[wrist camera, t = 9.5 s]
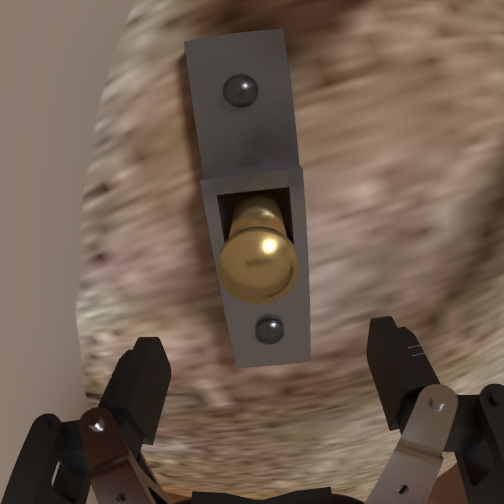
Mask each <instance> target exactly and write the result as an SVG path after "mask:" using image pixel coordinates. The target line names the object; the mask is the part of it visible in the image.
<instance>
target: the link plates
mask: <svg viewBox="0 0 504 504" xmlns="http://www.w3.org/2000/svg"><path fill="white" fill-rule="evenodd" d="M184 45H185V53H186V61H187V68H188V76H189V83H190V91H191V98H192V105H193V112H194V119H195V125H196V132H197V139H198V145H199V152H200V158H201V164H202V171H203V177H202V178H201V179H200V185H201V191H202V197H203V203H204V208H205V214H206V219H207V225H208V230H209V236H210V241H211V247H212V252H213V257H214V262H215V267H216V273H217V278H218V283H219V288H220V293H221V298H222V302H223V307H224V312H225V317H226V322H227V326H228V331H229V336H230V340H231V345H232V349H233V354H234V358H235V363H236V367H237V368H246V367H259V366H271V365H281V364H291V363H300V362H308V361H310V296H309V267H308V245H307V227H306V210H305V196H304V182H303V169H302V167H301V166H300V165H299V156H298V145H297V135H296V125H295V116H294V107H293V98H292V89H291V81H290V73H289V65H288V58H287V51H286V44H285V37H284V30H283V29H270V30H258V31H248V32H240V33H232V34H225V35H218V36H212V37H206V38H200V39H195V40H190V41H185V42H184ZM284 187H286V193H287V204H288V216H289V228H290V236H287V238H288V239H289V240H290V241H291V242H292V244H293V245H294V248H295V250H296V253H297V257H298V260H299V275H298V279H297V281H296V283H295V285H294V286H293V288H292V289H291V290H290V291H289V292H288V293H287V294H286V295H285V296H283V297H282V298H280V299H278V300H276V301H273V302H270V303H265V304H251V303H247V302H243V301H241V300H238V299H237V298H235V297H233V296H232V295H231V294H229V293H228V292H227V291H226V289H225V288H224V287H223V285H222V284H221V281H220V279H219V276H218V261H219V256H220V252H221V249H222V247H223V245H224V244H225V242H226V241H227V240H228V239H229V231H228V224H227V218H226V211H225V205H224V199H223V194H230V193H238V192H247V191H256V190H265V189H274V188H284Z"/></svg>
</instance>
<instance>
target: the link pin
mask: <svg viewBox="0 0 504 504" xmlns="http://www.w3.org/2000/svg"><path fill="white" fill-rule="evenodd" d="M298 275H299V260H298V257H297V253H296V250H295V248H294V245H293V244H292V242H291V241H290V240H289V239H288V238H287V235H286V231H285V227H284V223H283V219H282V215H281V211H280V207H279V203H278V201H277V199H276V197H275V196H274V195H273V194H272V193H271V192H269V191H267V190H256V191H247V192H244V193H242V194H241V195H240V196H239V198H238V199H237V201H236V204H235V209H234V214H233V219H232V224H231V229H230V234H229V239H228V240H227V241H226V242H225V244H224V245H223V247H222V249H221V252H220V256H219V261H218V276H219V279H220V281H221V284H222V285H223V287H224V288H225V289H226V291H227V292H228V293H229V294H231V295H232V296H233V297H235V298H237V299H238V300H241V301H243V302H247V303H251V304H265V303H270V302H273V301H276V300H278V299H280V298H282V297H283V296H285V295H286V294H287V293H288V292H289V291H290V290H291V289H292V288H293V286H294V285H295V283H296V281H297V279H298Z"/></svg>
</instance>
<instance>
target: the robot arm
mask: <svg viewBox="0 0 504 504" xmlns="http://www.w3.org/2000/svg"><path fill="white" fill-rule="evenodd" d="M367 361H368V365H369V367H370V370H371V373H372V376H373V379H374V382H375V385H376V388H377V391H378V394H379V397H380V400H381V404H382V407H383V410H384V413H385V416H386V419H387V423H388V426H389V429H390V431H392V430H396V429H400V432H401V438H400V440H399V442H398V444H397V446H396V448H395V450H394V452H393V454H392V456H391V458H390V460H389V462H388V464H387V465H386V467H385V469H384V471H383V473H382V475H381V476H380V478H379V480H378V482H377V483H376V485H375V487H374V489H373V490H372V492H371V494H370V495H369V497H368V498H367V500H366V502H365V503H364V502H362V501H360V500H358V499H355V498H352V497H349V496H345V495H340V494H332V493H331V487H325V488H317V489H309V490H299V491H294V492H291V493H287V494H284V495H280V496H277V497H273V498H269V499H265V500H254V499H249V498H245V497H240V496H236V495H231V494H227V493H213V492H196V491H193V492H192V499H186V500H182V501H179V502H176V503H174V504H425V503H426V500H427V498H428V496H429V494H430V492H431V489H432V487H433V485H434V482H435V480H436V478H437V475H438V473H439V470H440V468H441V465H442V462H443V457H442V453H443V452H453V451H454V453H455V456H456V460H457V463H458V466H459V470H460V473H461V477H462V481H463V485H464V488H465V492H466V496H467V501H468V504H504V386H503V385H501V384H489V385H487V386H485V387H484V388H483V389H482V391H481V393H480V394H479V395H457V394H455V392H454V391H453V390H452V389H451V388H449V387H447V386H445V385H441V384H440V382H439V380H438V378H437V376H436V374H435V372H434V370H433V368H432V366H431V364H430V363H429V361H428V359H427V357H426V355H425V354H424V351H423V349H422V348H421V346H420V344H419V342H418V340H417V338H416V337H415V335H414V334H413V333H412V332H411V331H409V330H408V329H407V328H406V327H401V328H397V326H396V324H395V322H394V320H393V318H392V317H391V316H385V317H379V318H372V319H371V321H370V327H369V335H368V343H367ZM170 380H171V367H170V363H169V361H168V358H167V356H166V353H165V351H164V348H163V346H162V343H161V341H160V339H159V338H158V337H139V338H138V339H137V341H136V344H135V346H134V348H133V350H128V351H127V352H126V353H125V354H124V355H123V356H122V357H121V358H120V359H119V361H118V363H117V365H116V367H115V370H114V372H113V374H112V378H110V381H109V383H108V385H107V387H106V389H105V392H104V394H103V396H102V398H101V401H100V403H99V405H98V407H95V408H91V409H89V410H88V411H86V412H85V413H84V414H83V415H82V416H81V418H80V420H77V421H68V422H61V421H60V420H59V418H58V417H57V416H56V415H54V414H43V415H41V416H39V417H38V418H37V419H36V420H35V421H34V422H33V424H32V426H31V428H30V431H29V433H28V435H27V437H26V440H25V442H24V444H23V447H22V449H21V451H20V454H19V456H18V459H17V461H16V464H15V466H14V469H13V471H12V474H11V476H10V479H9V482H8V485H7V487H6V490H5V493H4V496H3V499H2V502H1V504H86V501H87V497H88V493H89V489H90V485H91V486H92V489H93V491H94V493H95V496H96V499H97V501H98V503H99V504H173V502H172V501H171V500H170V498H169V497H168V496H167V495H166V493H165V492H164V491H163V489H162V488H161V486H160V484H159V483H158V481H157V479H156V478H155V476H154V474H153V472H152V471H151V469H150V467H149V465H148V463H147V462H146V460H145V458H144V456H143V454H142V453H141V451H140V450H141V447H142V444H148V445H153V442H154V438H155V434H156V430H157V427H158V423H159V419H160V416H161V412H162V408H163V405H164V401H165V397H166V394H167V390H168V387H169V383H170ZM58 462H59V463H60V465H59V468H58V471H57V475H56V477H55V480H54V484H53V487H52V477H53V474H54V472H55V469H56V465H57V463H58Z"/></svg>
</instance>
